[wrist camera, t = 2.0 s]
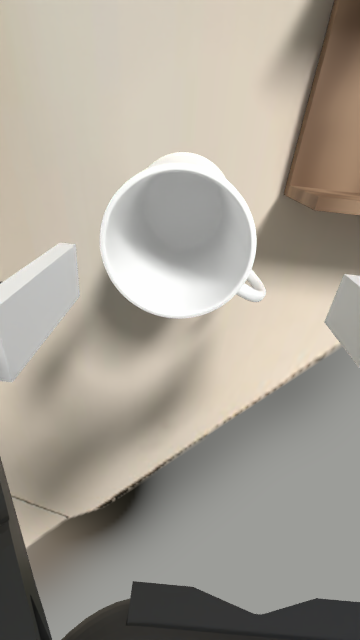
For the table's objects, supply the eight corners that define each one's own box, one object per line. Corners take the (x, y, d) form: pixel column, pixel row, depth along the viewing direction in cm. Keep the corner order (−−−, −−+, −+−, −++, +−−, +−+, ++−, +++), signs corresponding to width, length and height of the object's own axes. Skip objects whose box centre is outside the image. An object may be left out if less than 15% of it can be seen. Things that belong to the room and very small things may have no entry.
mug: (276, 232, 26) (334, 288, 16) (208, 294, 29) (218, 375, 19) (179, 125, 22) (170, 106, 12) (113, 211, 25) (62, 256, 15)
